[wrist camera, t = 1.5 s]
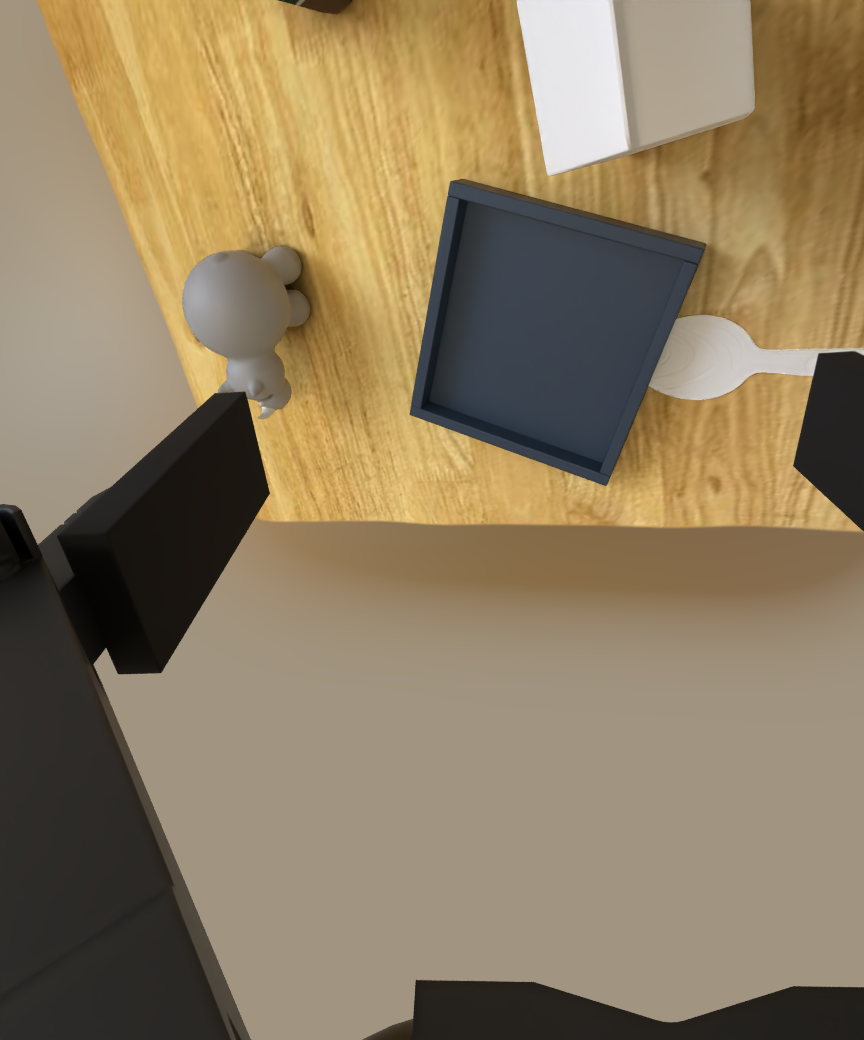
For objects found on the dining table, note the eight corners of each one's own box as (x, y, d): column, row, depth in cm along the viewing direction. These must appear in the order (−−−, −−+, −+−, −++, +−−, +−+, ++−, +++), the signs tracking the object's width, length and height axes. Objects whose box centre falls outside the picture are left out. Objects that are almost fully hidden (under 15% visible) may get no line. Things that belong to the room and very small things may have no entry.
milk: (627, 155, 35) (514, 190, 18) (610, 25, 32) (460, -84, 15) (750, 117, 32) (758, 113, 15) (742, -30, 29) (742, -242, 12)
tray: (462, 178, 38) (449, 180, 37) (706, 243, 35) (704, 249, 34) (420, 405, 48) (409, 415, 46) (611, 473, 44) (606, 486, 43)
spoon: (959, 412, 35) (961, 416, 34) (626, 394, 42) (625, 397, 41) (995, 315, 32) (998, 317, 32) (633, 312, 39) (632, 314, 38)
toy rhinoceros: (263, 393, 53) (195, 432, 46) (228, 241, 47) (144, 260, 40) (335, 398, 50) (274, 440, 44) (309, 237, 44) (233, 257, 38)
